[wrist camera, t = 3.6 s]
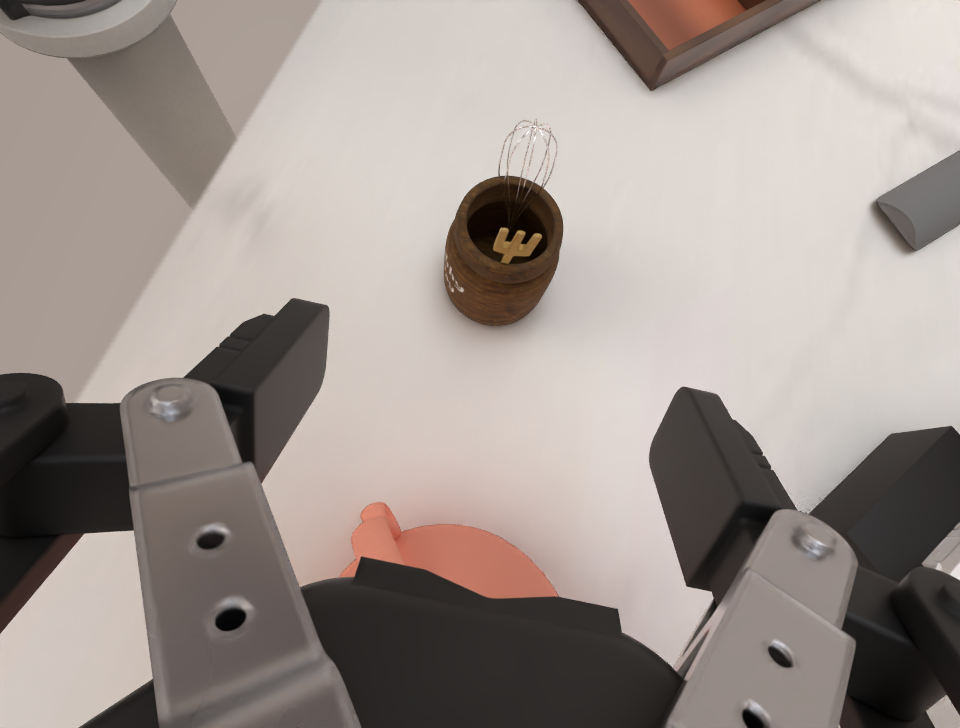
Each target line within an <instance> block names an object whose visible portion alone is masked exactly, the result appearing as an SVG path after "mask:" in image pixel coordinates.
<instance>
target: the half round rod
mask: <svg viewBox="0 0 960 728" xmlns="http://www.w3.org/2000/svg"><path fill="white" fill-rule="evenodd" d="M876 201H877V204H878V205H879V207H880V208H881V209H882V210H883V212H884V213H885V214H886V215H887V217H888V218H889V219H890V221H891V222H892V223H893V224H894V226H895V227H896V228H897V229H898V231H899V232H900V233H901V235H902V236H903V237H904V238H905V240H906V241H907V242H908V243H909V245H910V246H911V247H912V248H913V249H915V250H916V251H917V250H919V249H921V248H923V247H924V246H926V245H927V244H929V243H931V242H932V241H934V240H935V239H937V238H939V237H940V236H942V235H943V234H945V233H947V232H948V231H950V230H951V229H953V228H955V227H956V226H958V225H959V224H960V151H958V152H956V153H954V154H953V155H951V156H949V157H947V158H946V159H944V160H942V161H941V162H939V163H937V164H935V165H934V166H932V167H930V168H929V169H927V170H925V171H923V172H922V173H920V174H918V175H917V176H915V177H913V178H911V179H910V180H908V181H906V182H905V183H903V184H901V185H899V186H898V187H896V188H894V189H893V190H891V191H889V192H887V193H886V194H884V195H882V196H881V197H879V198H878V199H877V200H876Z"/></svg>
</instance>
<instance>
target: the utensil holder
mask: <svg viewBox="0 0 960 728" xmlns="http://www.w3.org/2000/svg"><path fill="white" fill-rule="evenodd" d="M521 122H529V121H526V120H523V121H520V122H519V123H521ZM535 122H536V126H535V125H534V124H535ZM519 123H518V124H519ZM529 123H531V122H529ZM518 124H517V125H518ZM531 124H532V125H533V126H523V127H519V128H517V129H515V128H516V127H517V125H516V126H515V128H514V131H516V130H518V129H520V128H524V127H532V129H531V130H532V131H533V129H535V136H534V142H533V148H534V143H535V137H536V129H538V128H540V129H543V130H545V131H547V132H548V133H550V138H549V142H548V145H547V142H546V139H545V137H544V135H543V134H542V132H541V131H540V130H539V129H538V130H539V132H540V133H541V134H542V136H543V138H544V140H545V143H546V146H547V150H548V165H549V149H548V147H549V143H550V139H551V135H552V134H551V128H550V126H549V125H547V124H541V125H538V126H537V119H535V121H534V124H533V123H531ZM542 125H546V126H548V127H549V129H550V132H549V131H548V130H546V129H544V128H541V127H539V126H542ZM531 130H529V131H528V132H527V133H529V132H530V131H531ZM514 131H512V132H511V133H510V134H509V135H508V136H507V138H508V137H509V136H510V135H511V134H512V133H513V134H514ZM532 131H531V135H532ZM527 133H526V134H527ZM513 134H512V138H513ZM526 134H525V135H526ZM525 135H524V136H525ZM531 135H530V139H531ZM524 136H523V137H524ZM523 137H522V138H523ZM552 137H553V138H554V140H555V142H556V139H555V137H554V136H553V135H552ZM507 138H506V140H507ZM512 138H511V142H512ZM522 138H521V139H520V140H519V142H520V141H521V140H522ZM530 139H529V143H530ZM506 140H505V142H506ZM505 142H504V145H505ZM511 142H510V146H511ZM519 142H518V143H517V145H518V144H519ZM529 143H528V147H529ZM504 145H503V149H504ZM517 145H516V146H515V148H516V147H517ZM510 146H509V151H510ZM528 147H527V151H528ZM556 147H557V150H556V156H557V151H558V146H557V142H556ZM515 148H514V150H515ZM533 148H532V153H533ZM503 149H502V153H503ZM514 150H513V152H514ZM547 150H546V154H547ZM509 151H508V157H509ZM527 151H526V155H527ZM513 152H512V154H513ZM502 153H501V157H502ZM532 153H531V158H532ZM512 154H511V157H512ZM546 154H545V157H546ZM526 155H525V159H526ZM556 156H555V159H554V163H555V160H556ZM501 157H500V162H501ZM508 157H507V172H506V176H500V174H499V169H500V162H499V169H498V174H499V177H494V178H490V179H487V180H485V181H483V182H481V183H479V184H477V185H476V186H475V187H473V188H472V189H471V190H470V191H469V192H468V193H467V195H466V196H465V197H464V199H463V201H462V202H461V204H460V206H459V209H458V211H457V213H456V217H455V219H454V221H453V223H452V225H451V227H450V230H449V232H448V236H447V241H446V247H445V259H444V280H445V286H446V289H447V292H448V295H449V297H450V299H451V301H452V302H453V304H454V305H455V306H456V308H457V309H458V310H459V311H460V312H461V313H463V314H464V315H465V316H467V317H468V318H470V319H472V320H474V321H476V322H479V323H482V324H486V325H505V324H509V323H513V322H515V321H517V320H519V319H521V318H523V317H524V316H526V315H527V314H528V313H529V312H530V311H531V310H532V309H533V308H534V307H535V306H536V305H537V303H538V302H539V301H540V299H541V297H542V296H543V294H544V292H545V291H546V289H547V287H548V285H549V283H550V282H551V280H552V278H553V275H554V273H555V271H556V268H557V264H558V260H559V250H560V247H561V243H562V237H563V220H562V216H561V212H560V210H559V207H558V206H557V204H556V202H555V201H554V199H553V198H552V197H551V195H550V194H549V193H548V192H547V191H546V190H544V189H543V188H544V186H545V185H546V183H547V182H548V180H549V178H550V176H551V173H552V170H553V167H554V163H553V167H552V170H551V173H550V175H549V178H548V180H547V181H546V183H545V185H544V186H543V184H544V181H545V177H546V173H547V170H548V165H547V169H546V173H545V177H544V180H543V183H542V186H541V187H540V186H539V185H537V184H536V183H534V182H535V180H536V178H537V176H538V174H539V172H540V170H541V168H542V166H543V163H544V160H545V157H544V160H543V163H542V165H541V168H540V170H539V172H538V174H537V176H536V178H535V180H534V182H532V181H530V180H527V179H526V178H527V174H528V171H529V167H530V163H531V158H530V162H529V166H528V170H527V174H526V178H525V179H524V178H521V177H522V173H523V168H524V164H525V159H524V164H523V168H522V173H521V177H515V176H508V168H509V164H510V160H511V157H510V160H509V164H508Z"/></svg>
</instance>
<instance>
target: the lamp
mask: <svg viewBox="0 0 960 728" xmlns="http://www.w3.org/2000/svg"><path fill="white" fill-rule="evenodd" d="M809 515H811V516H813V517H815V518H817V519H819V520H821V521H822V522H824V523H825V524H827V525H828V526H830V527H831V528H832V529H834V530H835V531H836V532H837V533H838V534H840V535H841V536H842V537H843V538H844V539H845V540H846V541H847V543H848V544H849V545H850V546H851V548H852V550H853V551H854V553H855V555H856V557H857V561H858V565H859V566H862V567H864V568H866V569H869V570H871V571H873V572H875V573H878V574H880V575H882V576H884V577H887V578H889V579H891V580H894V581H896V582H898V583H900V582H901V581H902V580H903V579H904V578H905V577H906V576H907V575H908V574H909V572H910V571H911V570H912V569H914V568H916V567H928V568H933V569H936V570H939V571H942V572H944V573H947V574H949V575H951V576H953V577H955V578H957V579H958V580H960V434H959V433H958V432H957V431H956V430H955V429H954V428H953V427H952V426H947V427H940V428H932V429H925V430H917V431H910V432H902V433H895V434H891V435H890V436H889V437H888V438H887V439H886V440H885V441H884V442H883V443H882V444H880V445H879V446H878V447H877V448H876V449H875V450H874V451H873V452H872V453H871V454H870V455H869V456H868V457H867V458H866V459H865V460H864V461H863V462H862V463H861V464H860V465H859V466H858V467H857V468H856V469H855V470H854V471H853V472H852V473H851V474H850V475H849V476H848V477H847V478H846V479H845V480H844V481H843V482H842V483H841V484H839V485H838V486H837V487H836V488H835V489H834V490H833V491H832V492H831V493H830V494H829V495H828V496H827V497H826V498H825V499H824V500H823V501H822V502H821V503H820V504H819V505H818V506H817V507H816V508H815V509H814V510H813V511H812V512H811V513H810V514H809Z"/></svg>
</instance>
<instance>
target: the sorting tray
mask: <svg viewBox="0 0 960 728" xmlns="http://www.w3.org/2000/svg"><path fill="white" fill-rule="evenodd" d="M579 1H580V3H581V4H582V5H583V6H584V8H585V9H586V10H587V11H588V13H589V14H590V15H591V16H592V18H593V19H594V20H595V21H596V23H597V24H598V25H599V26H600V28H601V29H602V30H603V31H604V33H605V34H606V35H607V36H608V37H609V39H610V40H611V41H612V42H613V44H614V45H615V46H616V47H617V49H618V50H619V51H620V52H621V54H622V55H623V56H624V57H625V59H626V60H627V61H628V62H629V64H630V65H631V66H632V67H633V69H634V70H635V71H636V72H637V74H638V75H639V76H640V77H641V78H642V80H643V81H644V82H645V83H646V85H647V86H648V87H649V88H650V90H653V89H655V88H657V87H659V86H661V85H663V84H665V83H667V82H668V81H670V80H672V79H674V78H676V77H678V76H680V75H682V74H683V73H685V72H687V71H689V70H691V69H693V68H695V67H696V66H698V65H700V64H702V63H704V62H706V61H708V60H710V59H711V58H713V57H715V56H717V55H719V54H721V53H723V52H725V51H726V50H728V49H730V48H732V47H734V46H736V45H738V44H739V43H741V42H743V41H745V40H747V39H749V38H751V37H753V36H754V35H756V34H758V33H760V32H762V31H764V30H766V29H768V28H769V27H771V26H773V25H775V24H777V23H779V22H781V21H783V20H784V19H786V18H788V17H790V16H792V15H794V14H796V13H797V12H799V11H801V10H803V9H805V8H807V7H809V6H811V5H812V4H814V3H816V2H818V1H820V0H579Z"/></svg>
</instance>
